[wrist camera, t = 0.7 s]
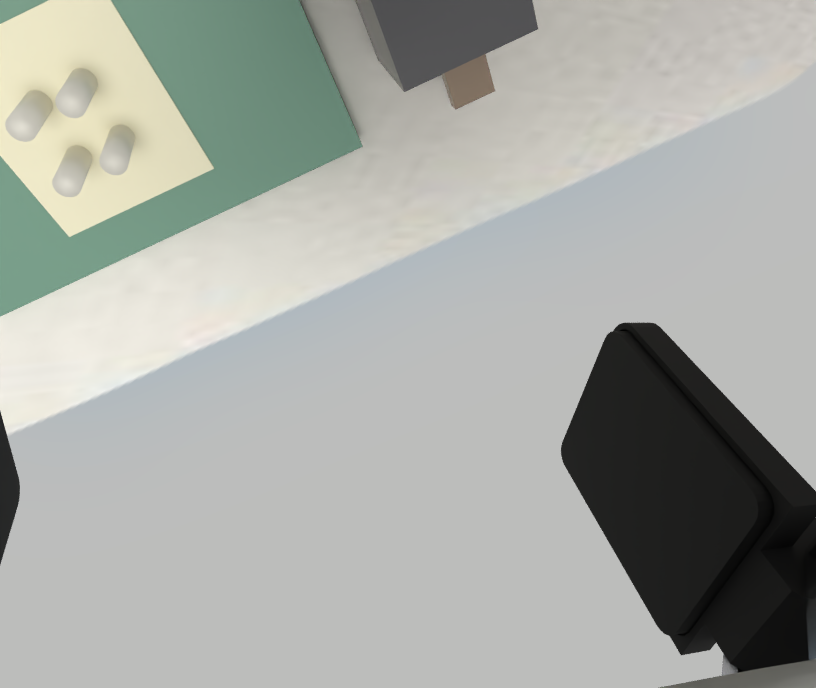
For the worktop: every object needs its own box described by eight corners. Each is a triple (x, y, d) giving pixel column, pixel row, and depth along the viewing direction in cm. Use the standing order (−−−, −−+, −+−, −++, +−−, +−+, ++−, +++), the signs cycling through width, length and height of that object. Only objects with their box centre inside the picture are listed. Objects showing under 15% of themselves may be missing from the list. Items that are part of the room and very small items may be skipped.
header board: (225, -167, 23) (227, -171, 19) (358, 137, 30) (375, 171, 27) (-266, 76, 23) (-342, 111, 20) (-16, 313, 31) (-42, 366, 28)
